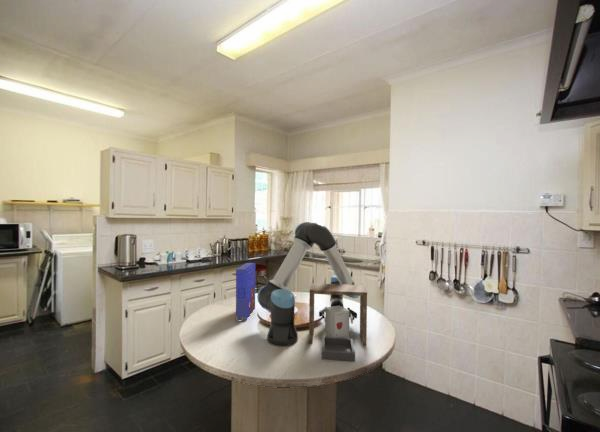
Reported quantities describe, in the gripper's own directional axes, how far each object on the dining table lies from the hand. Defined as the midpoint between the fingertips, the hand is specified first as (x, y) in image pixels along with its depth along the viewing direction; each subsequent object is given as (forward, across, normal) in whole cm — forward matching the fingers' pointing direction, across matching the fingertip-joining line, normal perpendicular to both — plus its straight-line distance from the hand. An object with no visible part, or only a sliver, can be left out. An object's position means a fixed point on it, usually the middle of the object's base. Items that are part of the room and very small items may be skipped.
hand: (338, 320), depth 144 cm
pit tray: (+17, +1, -8) cm, 19 cm away
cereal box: (-25, +56, -9) cm, 61 cm away
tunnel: (+2, +1, -8) cm, 9 cm away
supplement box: (+2, +1, -9) cm, 9 cm away
